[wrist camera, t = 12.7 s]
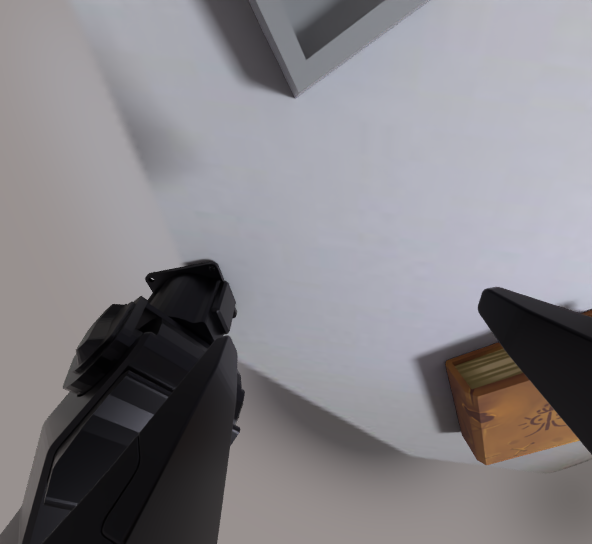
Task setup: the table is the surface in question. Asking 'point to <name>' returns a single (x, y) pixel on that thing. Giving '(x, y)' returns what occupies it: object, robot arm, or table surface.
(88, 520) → the robot arm
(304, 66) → the tray
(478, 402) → the diary
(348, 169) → the table surface
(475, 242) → the table surface
